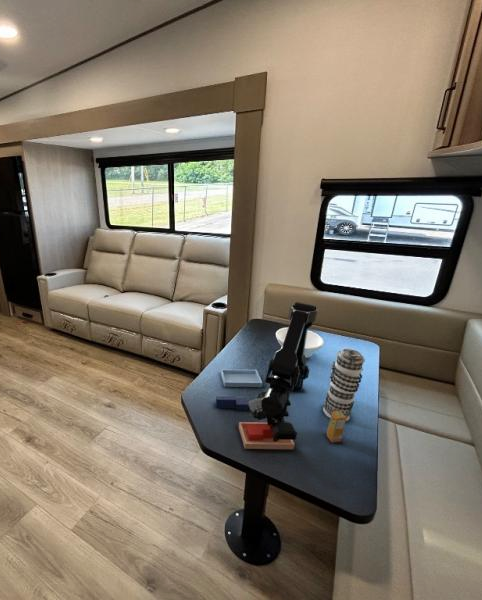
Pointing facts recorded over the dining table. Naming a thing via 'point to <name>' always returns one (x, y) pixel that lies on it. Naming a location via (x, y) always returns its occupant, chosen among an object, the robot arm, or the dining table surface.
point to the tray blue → (241, 378)
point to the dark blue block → (232, 402)
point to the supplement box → (336, 426)
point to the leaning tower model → (344, 382)
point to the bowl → (311, 343)
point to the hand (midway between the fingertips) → (272, 434)
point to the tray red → (266, 442)
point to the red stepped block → (258, 433)
